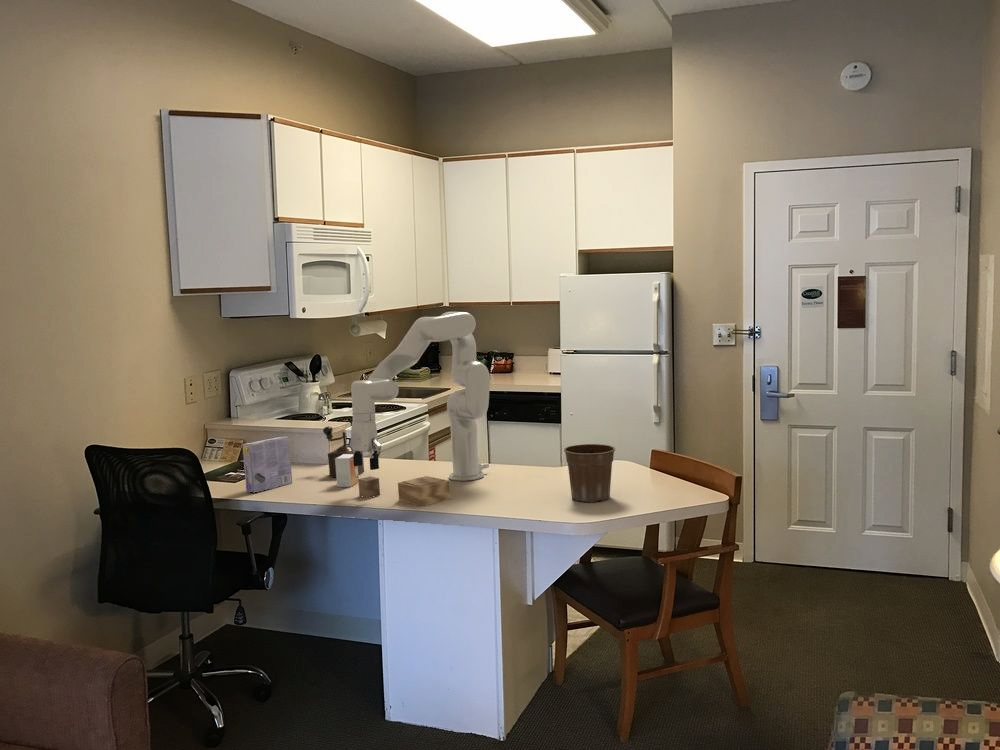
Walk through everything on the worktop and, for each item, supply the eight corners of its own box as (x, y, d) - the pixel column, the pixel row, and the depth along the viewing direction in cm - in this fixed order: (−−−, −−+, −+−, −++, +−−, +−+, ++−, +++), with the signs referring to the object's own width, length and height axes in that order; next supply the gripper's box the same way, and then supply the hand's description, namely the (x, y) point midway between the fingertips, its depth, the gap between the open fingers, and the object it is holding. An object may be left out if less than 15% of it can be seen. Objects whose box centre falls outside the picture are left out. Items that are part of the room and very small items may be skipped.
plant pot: (619, 492, 297) (617, 443, 295) (614, 504, 281) (612, 453, 279) (570, 491, 300) (567, 443, 298) (562, 504, 285) (560, 453, 283)
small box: (351, 487, 323) (349, 458, 322) (336, 487, 325) (334, 458, 323) (359, 482, 331) (357, 453, 330) (344, 482, 332) (342, 453, 331)
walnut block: (371, 493, 313) (370, 476, 312) (380, 495, 309) (378, 478, 308) (359, 496, 309) (358, 479, 309) (367, 498, 306) (366, 480, 305)
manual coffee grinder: (366, 471, 349) (362, 425, 347) (354, 477, 339) (351, 430, 337) (328, 471, 353) (325, 425, 351) (316, 477, 342) (312, 430, 340)
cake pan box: (286, 481, 338) (282, 434, 337) (295, 482, 336) (292, 435, 334) (244, 493, 323) (240, 443, 321) (254, 494, 320) (250, 444, 318)
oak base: (427, 493, 308) (426, 475, 307) (450, 498, 299) (449, 479, 298) (398, 500, 300) (397, 481, 299) (421, 506, 291) (419, 486, 290)
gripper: (340, 416, 310) (342, 466, 312) (369, 420, 297) (371, 472, 299) (358, 413, 315) (361, 462, 317) (388, 418, 302) (390, 469, 304)
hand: (366, 467), depth 308 cm, fingers open, 9 cm apart
